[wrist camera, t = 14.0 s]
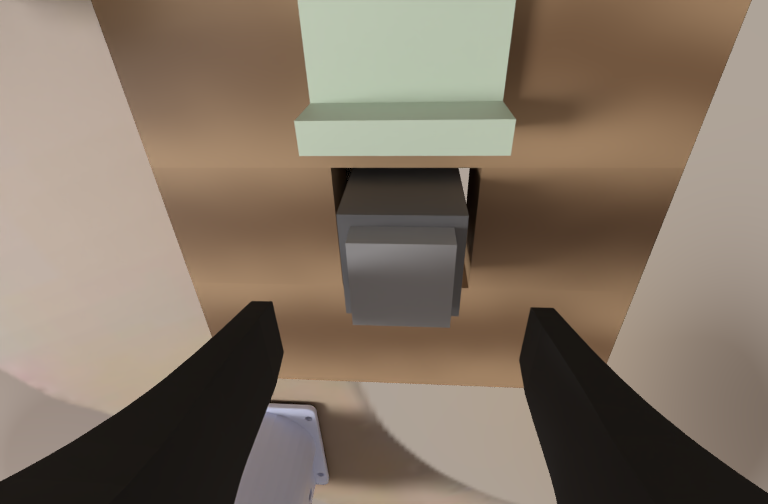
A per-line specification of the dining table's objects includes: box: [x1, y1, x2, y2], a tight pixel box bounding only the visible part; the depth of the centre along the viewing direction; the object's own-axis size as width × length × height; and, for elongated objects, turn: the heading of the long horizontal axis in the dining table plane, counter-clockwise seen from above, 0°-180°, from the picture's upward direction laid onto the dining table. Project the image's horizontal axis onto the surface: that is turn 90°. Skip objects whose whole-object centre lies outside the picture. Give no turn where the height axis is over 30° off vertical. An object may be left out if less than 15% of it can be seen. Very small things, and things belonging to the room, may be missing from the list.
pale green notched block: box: [294, 0, 516, 156], centre depth 11 cm, size 6×6×3 cm
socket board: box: [91, 0, 752, 388], centre depth 17 cm, size 18×19×3 cm
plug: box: [336, 168, 469, 328], centre depth 15 cm, size 4×4×7 cm
